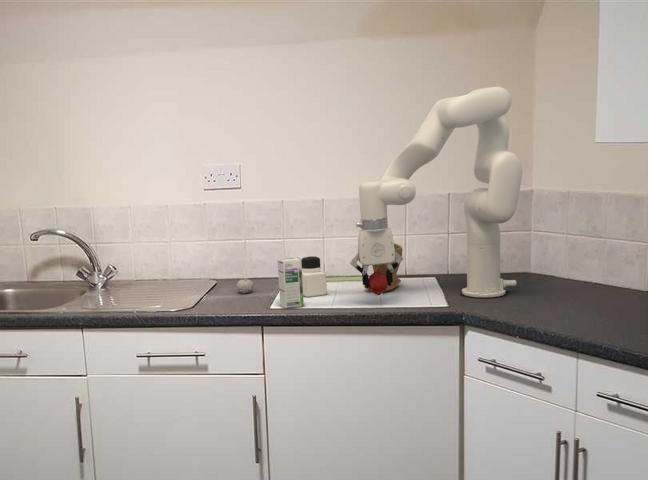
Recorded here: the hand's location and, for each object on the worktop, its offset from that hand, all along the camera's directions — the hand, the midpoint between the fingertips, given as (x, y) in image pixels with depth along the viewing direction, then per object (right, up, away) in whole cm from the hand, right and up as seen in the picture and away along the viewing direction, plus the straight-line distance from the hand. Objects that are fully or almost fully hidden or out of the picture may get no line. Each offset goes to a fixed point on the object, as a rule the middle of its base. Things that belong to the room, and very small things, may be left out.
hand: (377, 285), depth 221 cm
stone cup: (+6, -1, +24) cm, 25 cm away
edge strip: (-5, +2, +44) cm, 44 cm away
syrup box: (-25, -6, +7) cm, 26 cm away
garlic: (-39, -3, +30) cm, 49 cm away
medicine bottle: (-18, -3, +22) cm, 28 cm away
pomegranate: (0, -3, +1) cm, 3 cm away
